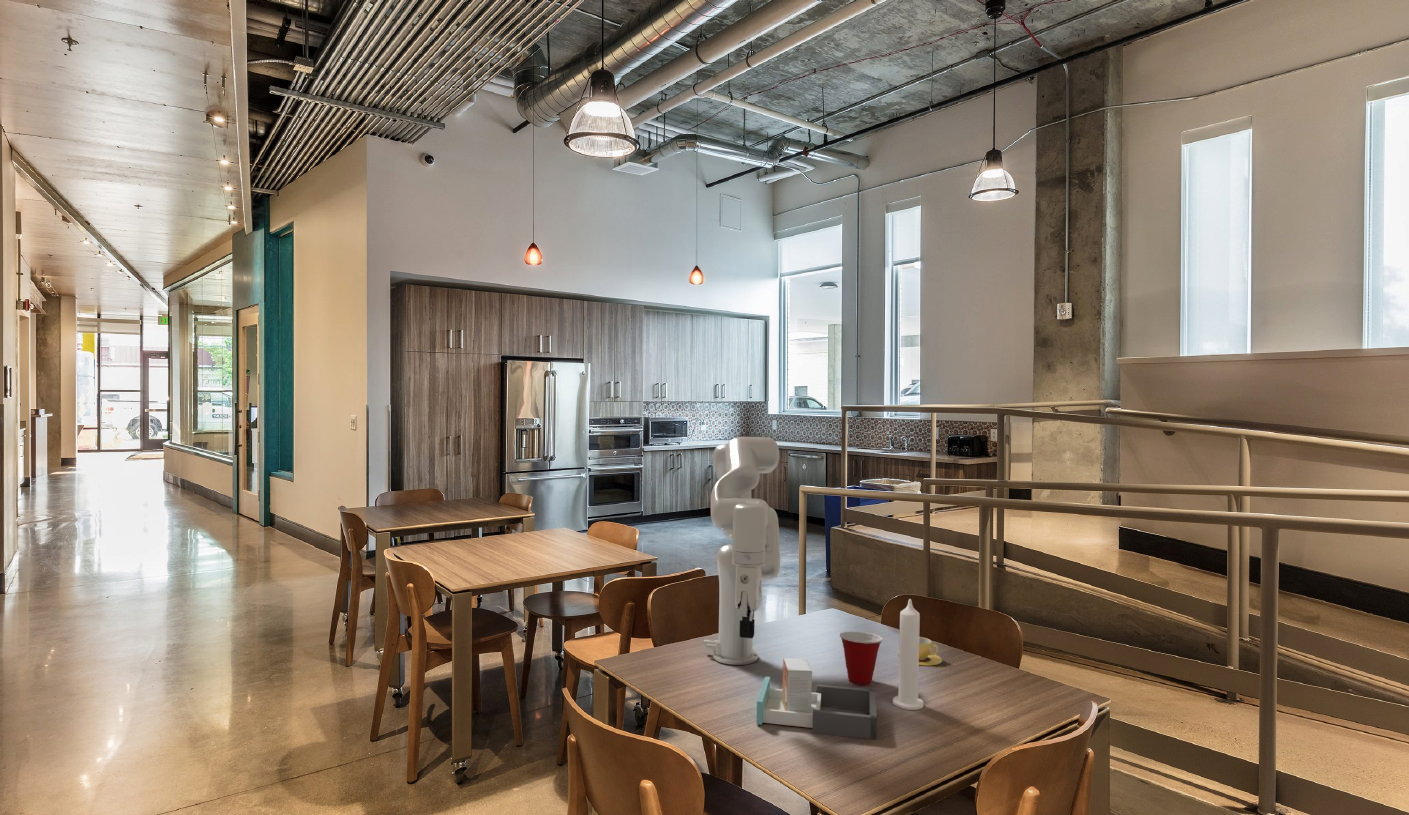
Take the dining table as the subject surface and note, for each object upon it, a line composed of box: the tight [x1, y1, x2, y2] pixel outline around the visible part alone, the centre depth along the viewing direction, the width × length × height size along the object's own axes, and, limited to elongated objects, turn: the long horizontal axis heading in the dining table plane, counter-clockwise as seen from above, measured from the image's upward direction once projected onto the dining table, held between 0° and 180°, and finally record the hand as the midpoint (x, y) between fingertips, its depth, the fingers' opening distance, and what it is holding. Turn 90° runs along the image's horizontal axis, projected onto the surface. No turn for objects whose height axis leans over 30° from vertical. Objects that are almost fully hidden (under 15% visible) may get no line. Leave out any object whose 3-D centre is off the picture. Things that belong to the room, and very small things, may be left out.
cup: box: [897, 636, 943, 667], centre depth 205 cm, size 12×12×5 cm
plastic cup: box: [839, 630, 884, 687], centre depth 186 cm, size 11×11×12 cm
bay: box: [811, 684, 878, 740], centre depth 163 cm, size 13×16×4 cm
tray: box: [756, 676, 822, 729], centre depth 165 cm, size 13×15×5 cm
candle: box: [892, 598, 925, 711], centre depth 172 cm, size 7×7×25 cm
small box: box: [782, 657, 813, 713], centre depth 165 cm, size 8×6×10 cm
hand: (746, 636), depth 167 cm, fingers closed
